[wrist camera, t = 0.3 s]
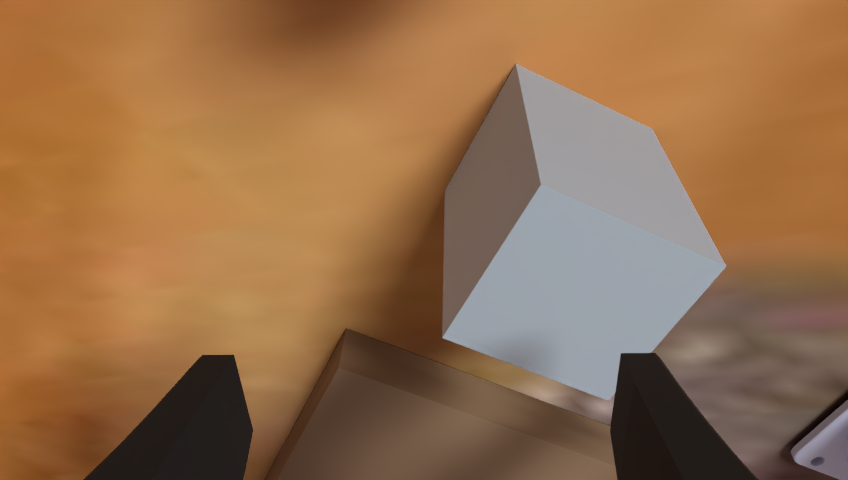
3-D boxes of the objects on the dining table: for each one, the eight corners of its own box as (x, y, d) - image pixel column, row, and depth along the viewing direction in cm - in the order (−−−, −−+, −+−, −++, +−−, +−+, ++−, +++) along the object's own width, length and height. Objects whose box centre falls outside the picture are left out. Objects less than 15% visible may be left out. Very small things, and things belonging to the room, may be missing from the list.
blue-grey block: (652, 128, 21) (726, 266, 16) (570, 243, 24) (608, 400, 18) (516, 63, 20) (540, 184, 15) (444, 190, 23) (442, 338, 17)
